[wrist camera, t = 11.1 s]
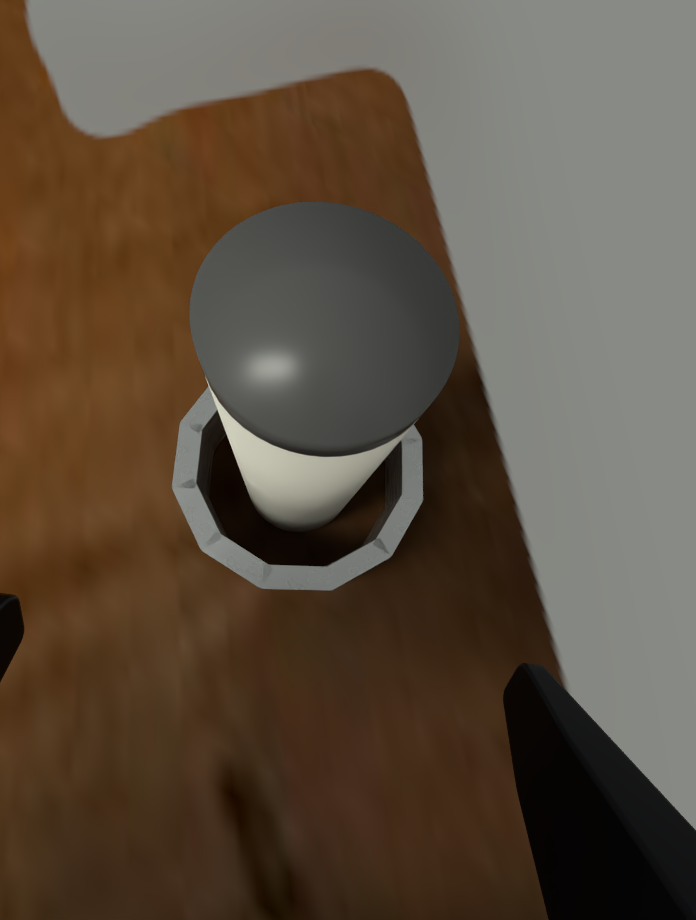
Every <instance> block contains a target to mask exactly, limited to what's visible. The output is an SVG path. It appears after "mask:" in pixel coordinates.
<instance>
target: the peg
mask: <svg viewBox="0 0 696 920" xmlns="http://www.w3.org/2000/svg"><path fill="white" fill-rule="evenodd" d="M190 327H191V335H192V339H193V342H194V346H195V349H196V353H197V355H198V358H199V361H200V364H201V366H202V369H203V372H204V374H205V377H206V380H207V382H208V385H209V388H210V391H211V393H212V396H213V399H214V401H215V404H216V407H217V410H218V412H219V415H220V418H221V420H222V423H223V426H224V428H225V431H226V434H227V437H228V439H229V442H230V445H231V447H232V450H233V453H234V456H235V458H236V461H237V464H238V466H239V469H240V472H241V475H242V477H243V480H244V483H245V485H246V488H247V491H248V493H249V496H250V499H251V501H252V503H253V506H254V507H255V509H256V510H257V512H258V513H259V514H260V515H261V516H262V517H263V518H264V519H265V520H266V521H267V522H269V523H270V524H271V525H273V526H275V527H277V528H279V529H282V530H285V531H290V532H308V531H312V530H316V529H318V528H321V527H323V526H325V525H326V524H328V523H329V522H331V521H332V520H333V519H334V518H335V517H336V516H337V515H338V514H339V513H340V512H341V510H342V509H343V508H344V507H345V506H346V504H347V503H348V502H349V501H350V500H351V498H352V497H353V496H354V495H355V494H356V493H357V491H358V490H359V489H360V488H361V487H362V485H363V484H364V483H365V482H366V481H367V479H368V478H369V477H370V476H371V475H372V474H373V472H374V471H375V470H376V469H377V468H378V466H379V465H380V464H381V463H382V462H383V460H384V459H385V458H386V457H387V456H388V454H389V453H390V452H391V451H392V450H393V449H394V447H395V446H396V445H397V444H398V443H399V441H400V440H401V439H402V438H403V437H404V435H405V434H406V433H407V432H408V431H409V429H410V428H411V427H412V426H413V425H414V424H415V422H416V421H417V420H418V419H419V418H420V416H421V415H422V414H423V413H424V412H425V410H426V409H427V408H428V407H429V406H430V404H431V403H432V402H433V401H434V400H435V399H436V397H437V396H438V394H439V393H440V392H441V390H442V389H443V387H444V386H445V384H446V382H447V380H448V378H449V376H450V374H451V372H452V369H453V366H454V363H455V360H456V356H457V351H458V345H459V318H458V311H457V307H456V303H455V299H454V296H453V293H452V291H451V288H450V286H449V283H448V281H447V279H446V277H445V276H444V274H443V272H442V270H441V269H440V267H439V266H438V264H437V263H436V262H435V260H434V259H433V258H432V256H431V255H430V254H429V253H428V252H427V251H426V250H425V249H424V247H423V246H422V245H421V244H420V243H419V242H417V241H416V240H415V239H414V238H413V237H412V236H410V235H409V234H408V233H407V232H405V231H404V230H402V229H401V228H399V227H398V226H396V225H395V224H393V223H391V222H390V221H388V220H386V219H384V218H382V217H380V216H378V215H375V214H373V213H370V212H368V211H365V210H362V209H359V208H355V207H352V206H348V205H342V204H336V203H328V202H299V203H293V204H287V205H282V206H278V207H275V208H271V209H268V210H265V211H263V212H260V213H258V214H256V215H253V216H251V217H250V218H248V219H246V220H244V221H243V222H241V223H239V224H238V225H236V226H235V227H234V228H233V229H231V230H230V231H229V232H227V233H226V234H225V235H224V236H223V237H222V238H221V239H220V240H219V241H218V242H217V243H216V244H215V245H214V247H213V248H212V249H211V251H210V252H209V253H208V255H207V256H206V258H205V260H204V261H203V263H202V265H201V267H200V269H199V271H198V273H197V276H196V279H195V282H194V285H193V289H192V294H191V299H190Z"/></svg>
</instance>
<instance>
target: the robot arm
mask: <svg viewBox="0 0 696 920" xmlns="http://www.w3.org/2000/svg"><path fill="white" fill-rule="evenodd" d="M23 635H24V623H23V617H22V612H21V606H20V601H19V598H18V597H17V596H16V595H12V594H5V593H0V681H1V680H2V678H3V676H4V674H5V672H6V670H7V668H8V666H9V664H10V662H11V660H12V658H13V657H14V655H15V653H16V651H17V649H18V647H19V645H20V643H21V641H22V638H23ZM503 703H504V710H505V716H506V723H507V730H508V736H509V743H510V750H511V756H512V763H513V770H514V776H515V782H516V787H517V792H518V797H519V801H520V805H521V809H522V813H523V818H524V822H525V826H526V830H527V834H528V838H529V842H530V846H531V850H532V854H533V858H534V862H535V866H536V870H537V874H538V878H539V882H540V886H541V891H542V895H543V899H544V903H545V907H546V911H547V915H548V919H549V920H696V830H695V829H694V828H693V827H692V826H691V825H690V824H689V823H688V822H687V820H686V819H685V818H684V817H683V816H682V815H681V814H680V813H679V812H678V811H677V810H676V809H675V807H673V806H672V804H671V803H670V802H669V801H668V800H667V799H666V798H665V797H664V796H663V795H662V793H661V792H660V791H659V790H658V789H657V788H656V787H655V786H654V785H653V784H652V783H651V782H650V781H649V779H648V778H647V777H646V776H645V775H644V774H643V773H642V772H641V771H640V770H639V769H638V768H637V767H636V765H635V764H634V763H633V762H632V761H631V760H630V759H629V758H628V757H627V756H626V755H625V754H624V752H622V750H621V749H620V748H619V747H618V746H617V745H616V744H615V743H614V742H613V741H612V740H611V738H610V737H608V735H607V734H606V733H605V732H604V731H603V730H602V729H601V728H600V727H599V726H598V724H597V723H596V722H595V721H594V720H593V719H592V718H591V717H590V716H589V715H588V714H587V713H586V711H585V710H584V709H583V708H582V707H581V706H580V705H579V704H578V703H577V702H576V701H575V700H574V699H573V697H572V696H571V695H570V694H569V693H568V692H567V691H566V690H565V689H564V688H563V687H562V686H561V684H560V683H559V682H558V681H557V680H556V679H555V678H554V677H553V676H552V675H551V674H550V673H549V672H548V670H546V669H545V668H544V667H543V666H540V665H535V664H527V663H522V664H520V665H519V666H518V667H517V669H516V671H515V672H514V674H513V676H512V677H511V679H510V681H509V682H508V684H507V686H506V688H505V690H504V695H503Z"/></svg>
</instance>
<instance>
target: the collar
mask: <svg viewBox="0 0 696 920" xmlns="http://www.w3.org/2000/svg"><path fill="white" fill-rule="evenodd" d="M225 436H226V431H225V428H224V426H223V423H222V420H221V418H220V415H219V412H218V410H217V407H216V404H215V401H214V399H213V396H212V393H211V391H210V388H209V387H208V388H207V389H206V390H205V392H204V393H203V394H202V395H201V397H200V398H199V399H198V400H197V402H196V403H195V404H194V406H193V407H192V408H191V409H190V411H189V412H188V413H187V414H186V416H185V417H184V418H183V419H182V421H181V423H180V428H179V435H178V443H177V451H176V459H175V467H174V475H173V483H172V489H173V491H174V493H175V496H176V498H177V500H178V502H179V504H180V506H181V508H182V511H183V513H184V515H185V517H186V519H187V521H188V523H189V525H190V528H191V530H192V532H193V534H194V536H195V538H196V540H197V542H198V545H199V547H200V549H201V550H202V551H203V552H205V553H206V554H208V555H209V556H211V557H212V558H214V559H216V560H217V561H219V562H220V563H222V564H223V565H225V566H227V567H228V568H230V569H231V570H233V571H234V572H236V573H237V574H239V575H241V576H242V577H244V578H245V579H247V580H248V581H250V582H251V583H253V584H255V585H256V586H258V587H259V588H262V589H294V590H334V589H335V588H337V587H339V586H341V585H342V584H344V583H346V582H348V581H350V580H351V579H353V578H355V577H357V576H358V575H360V574H362V573H364V572H365V571H367V570H369V569H371V568H372V567H374V566H376V565H378V564H380V563H381V562H383V561H385V560H387V559H388V558H390V557H391V556H392V555H393V553H394V551H395V550H396V548H397V546H398V544H399V542H400V541H401V539H402V537H403V535H404V534H405V532H406V530H407V528H408V527H409V525H410V523H411V521H412V519H413V518H414V516H415V514H416V512H417V511H418V509H419V507H420V505H421V504H422V502H423V501H422V500H423V463H422V438H421V436H420V434H419V433H418V431H417V429H416V427H415V426H414V425H413V426H412V427H411V428H410V429H409V431H408V432H407V433H406V434H405V435H404V437H403V438H402V439H401V440H400V441H399V443H398V444H397V445H396V446H395V447H394V449H393V450H392V451H391V452H390V453H389V454H388V456H387V457H386V458H385V459H384V461H385V508H384V509H383V511H382V513H381V514H380V516H379V518H378V519H377V521H376V523H375V524H374V526H373V528H372V530H371V531H370V533H369V535H368V536H367V538H366V540H365V541H364V543H363V545H362V546H361V547H359V548H357V549H355V550H354V551H352V552H350V553H348V554H346V555H345V556H343V557H341V558H339V559H337V560H335V561H334V562H332V563H330V564H328V565H326V566H325V567H321V566H289V565H268V564H267V563H265V562H264V561H262V560H261V559H259V558H258V557H256V556H254V555H253V554H251V553H250V552H248V551H247V550H245V549H243V548H242V547H240V546H239V545H237V544H236V543H234V542H233V541H231V540H229V539H228V537H227V535H226V533H225V531H224V529H223V527H222V524H221V522H220V520H219V518H218V516H217V514H216V512H215V510H214V508H213V506H212V504H211V502H210V500H209V490H210V481H211V471H212V462H213V452H214V450H215V449H216V448H217V446H218V445H219V444H220V442H221V441H222V440H223V438H224V437H225Z"/></svg>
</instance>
